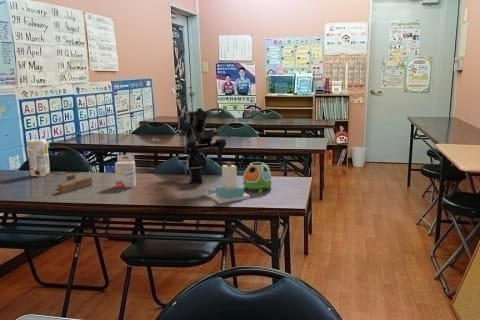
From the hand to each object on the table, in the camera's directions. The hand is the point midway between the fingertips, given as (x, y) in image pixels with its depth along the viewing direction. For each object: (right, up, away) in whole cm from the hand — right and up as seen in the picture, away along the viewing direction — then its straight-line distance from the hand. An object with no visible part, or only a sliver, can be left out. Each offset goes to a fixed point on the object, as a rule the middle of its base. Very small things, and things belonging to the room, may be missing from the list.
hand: (211, 161), depth 189 cm
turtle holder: (+21, -12, +7) cm, 25 cm away
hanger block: (+8, -14, -8) cm, 18 cm away
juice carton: (-94, -8, +42) cm, 103 cm away
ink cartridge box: (-41, -12, +15) cm, 45 cm away
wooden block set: (-69, -13, +15) cm, 72 cm away
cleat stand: (+7, -15, -5) cm, 17 cm away
